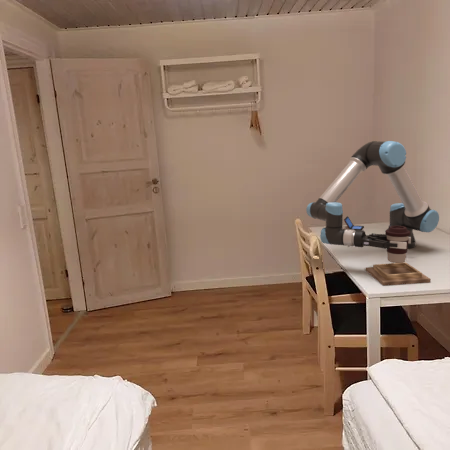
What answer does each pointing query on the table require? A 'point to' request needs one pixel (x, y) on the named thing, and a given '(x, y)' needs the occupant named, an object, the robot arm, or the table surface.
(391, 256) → the coffee cup
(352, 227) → the handheld game console
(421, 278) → the cup rack
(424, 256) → the table surface
